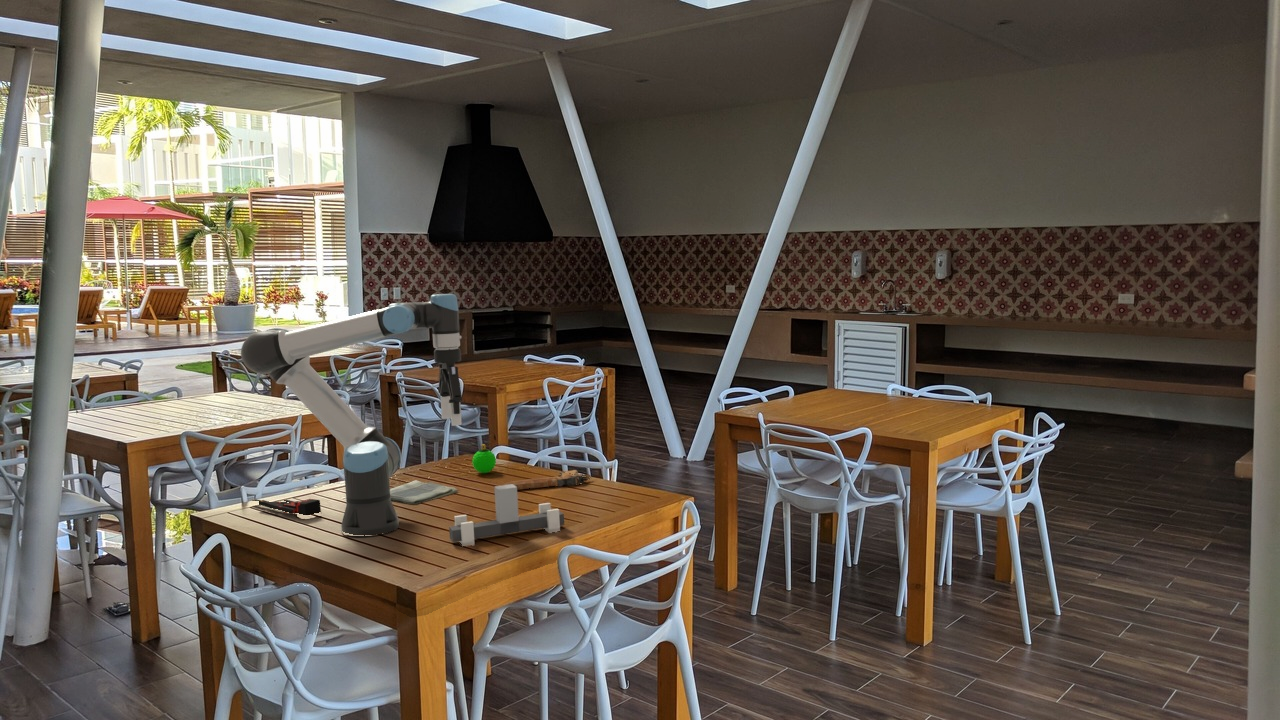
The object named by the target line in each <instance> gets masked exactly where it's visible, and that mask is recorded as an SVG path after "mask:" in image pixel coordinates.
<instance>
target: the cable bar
mask: <svg viewBox="0 0 1280 720" xmlns="http://www.w3.org/2000/svg"><path fill="white" fill-rule="evenodd" d="M493 487H494V502H495V519H493V520H487V521H479V522H475V523H474V522H473V526H474V540H475V539H481V538H488V537H495V536H502V535H507V534H514V533H520V532H527V531H533V530H539V529H540V530H541V529H543V528H548V524H547V512H546V513H539V512H538V513H533V514H527V515H521V516H519V498H518V490H517V487H516V486H515V485H513V484H510V485H505V484H503V485H496V486H493ZM559 520H560V527H561V526H565V513H564V512H562V511H561V510H559ZM448 531H449V539H450V540H451V541H452V542H453V543H455V542H458V541H462V539H461V525H458V526H455V525H452V526H448Z"/></svg>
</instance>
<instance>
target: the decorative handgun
mask: <svg viewBox="0 0 1280 720" xmlns="http://www.w3.org/2000/svg"><path fill="white" fill-rule="evenodd" d="M560 472H565V473H560ZM560 472H559V474H561V475H557V476H551V477H540V478H531V479H521V480H513V481H506V482H505V483H504V485H510V484H513V485H515V486H516V487H517V491H519V490H527V489H528V490H530V489H536V488H537V489H538V488H550V487H549V486H555V487H564V486H563V485H567V486H569V485H573V486H575V485H574V484H577V485H576V486H579V485H578V484H580V483H583V484H584V483H585V482H587V481H589V480H591V479H592V476H591V474H587V473H586V474H583V473H580V474H579V472H578V470H577V469H573V470H571V469H570V470H562V471H560ZM569 473H571V474H569ZM572 474H573V475H572ZM574 474H577V475H574ZM579 475H581V476H579ZM582 476H586V477H582ZM589 477H590V478H591V479H590V478H589ZM588 479H589V480H588ZM556 485H558V486H556ZM529 488H530V489H529Z"/></svg>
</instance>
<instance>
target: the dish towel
mask: <svg viewBox="0 0 1280 720" xmlns="http://www.w3.org/2000/svg"><path fill="white" fill-rule="evenodd" d="M458 492H459V490H458V488H456V487H454V486H446V485H443V484H439V483H435V482H431V481H429V482H427V483H426V482H423V481H419V480H417V479H415V480H413V481H411V482H407V483H405V484H401V485H399V486H395V487H392V488H390V498H391V500H392V501H391V502H396V501H397V503H401V502H402V503H401V504H406V503H407V505H412V504H413V505H412V506H414V504H415V505H418V503H419V504H422V503H425V502H424V501H426V502H429V501H428V500H430V501H432V499H433V500H436V499H440V498H444V497H447V496H450V495H453V494H457V493H458ZM421 502H422V503H421Z"/></svg>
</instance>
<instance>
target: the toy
mask: <svg viewBox="0 0 1280 720" xmlns="http://www.w3.org/2000/svg"><path fill="white" fill-rule="evenodd" d="M252 501H259V505H258V506H261V505H262V506H261V507H265V508H269V509H272V508H273V510H275V509H278V510H282V511H281V512H283V511H285V512H289V513H299V514H303V515H310V514H314V513H319V512H321V513H322V509H321V500H320V499H315V498H308V499H305V500H300V501H299V500H296V501H293V500H289V499H286V500H284V501H286V502H281V501H275V502H269V501H270V500H265V499H252V500H251V502H252ZM287 502H289V503H287ZM278 510H277V511H278ZM289 513H288V514H289Z"/></svg>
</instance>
